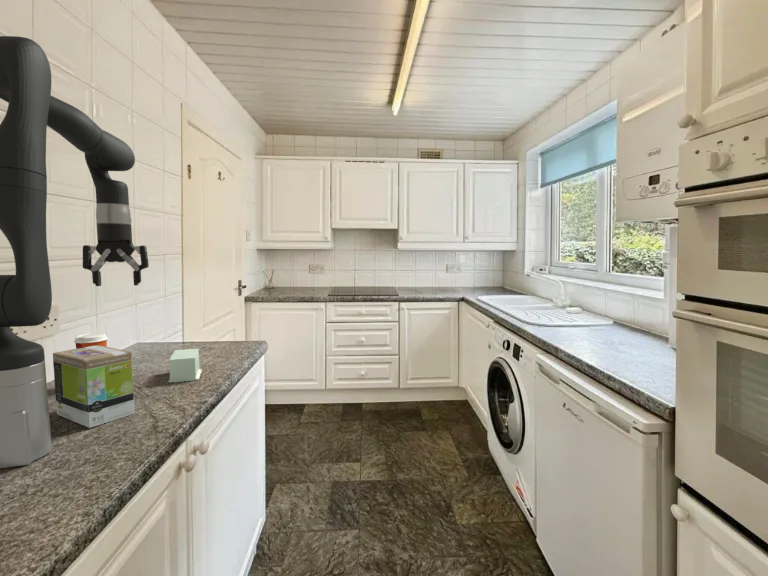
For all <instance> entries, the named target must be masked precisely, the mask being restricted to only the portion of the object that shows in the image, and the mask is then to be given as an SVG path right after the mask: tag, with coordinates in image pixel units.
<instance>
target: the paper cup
mask: <svg viewBox="0 0 768 576" xmlns="http://www.w3.org/2000/svg"><path fill="white" fill-rule="evenodd" d="M108 339H109V337H108V336H107V334H106V333H104V332H89V333H82V334H79V335H76V336H75V338H74V340H73V343H75V349H78V348H84V347H90V346H96V345H100V346H105V347H108V345H107V344H108V343H107V341H108Z"/></svg>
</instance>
